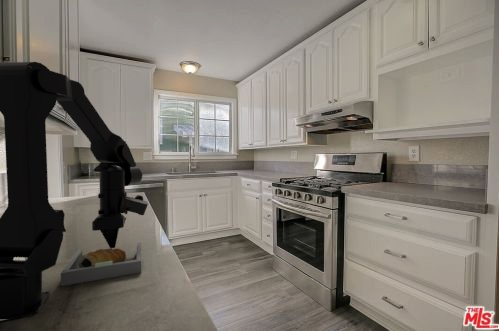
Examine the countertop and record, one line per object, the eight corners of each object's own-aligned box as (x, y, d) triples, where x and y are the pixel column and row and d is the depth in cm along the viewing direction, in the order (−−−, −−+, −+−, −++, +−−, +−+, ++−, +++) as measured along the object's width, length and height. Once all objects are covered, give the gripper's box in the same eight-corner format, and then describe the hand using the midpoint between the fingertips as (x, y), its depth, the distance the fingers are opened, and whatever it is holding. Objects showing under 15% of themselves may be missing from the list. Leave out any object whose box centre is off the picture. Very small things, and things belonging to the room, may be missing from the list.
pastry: (114, 255, 61) (114, 240, 61) (133, 260, 58) (133, 244, 58) (75, 270, 52) (75, 253, 52) (94, 276, 49) (94, 258, 49)
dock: (141, 272, 51) (141, 257, 51) (60, 286, 45) (60, 269, 45) (141, 251, 63) (141, 240, 63) (77, 260, 57) (77, 247, 57)
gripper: (146, 191, 57) (146, 255, 57) (145, 184, 74) (145, 234, 74) (91, 193, 52) (92, 263, 52) (104, 185, 69) (104, 238, 69)
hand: (112, 247), depth 62 cm, fingers closed
